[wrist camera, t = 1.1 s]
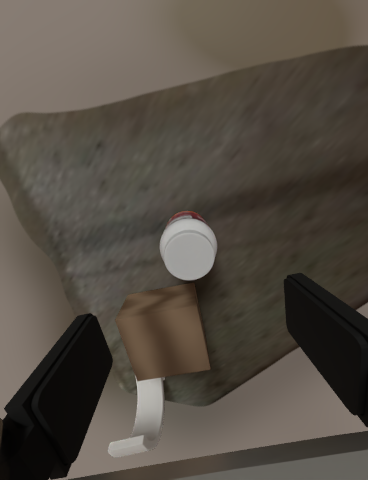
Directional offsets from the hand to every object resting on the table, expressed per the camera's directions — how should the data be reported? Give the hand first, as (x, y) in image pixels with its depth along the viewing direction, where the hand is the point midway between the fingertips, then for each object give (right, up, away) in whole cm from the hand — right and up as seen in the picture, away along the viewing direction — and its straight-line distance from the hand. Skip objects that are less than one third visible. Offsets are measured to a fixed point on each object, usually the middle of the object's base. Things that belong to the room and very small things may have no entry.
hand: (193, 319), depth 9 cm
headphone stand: (-7, -21, +26) cm, 34 cm away
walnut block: (-3, -9, +22) cm, 24 cm away
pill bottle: (0, +5, +18) cm, 19 cm away
